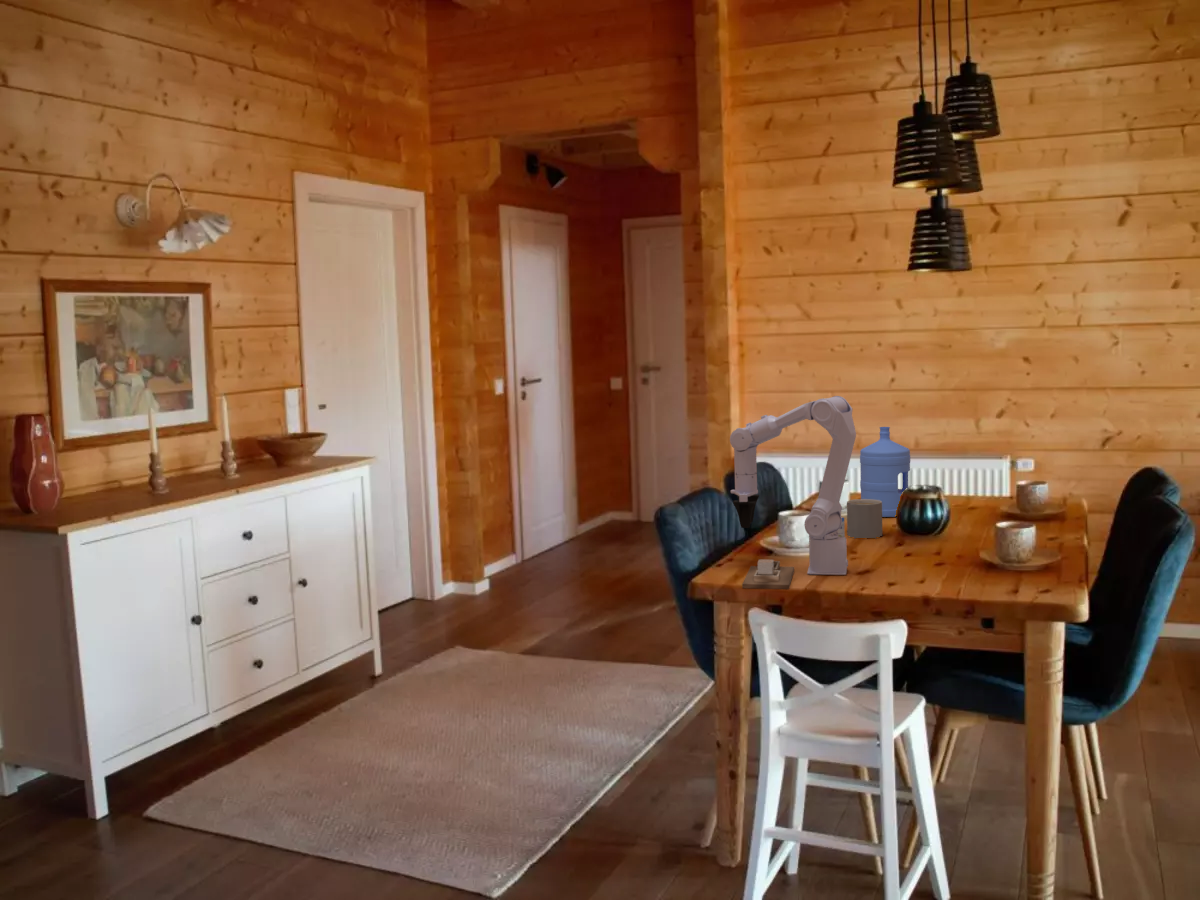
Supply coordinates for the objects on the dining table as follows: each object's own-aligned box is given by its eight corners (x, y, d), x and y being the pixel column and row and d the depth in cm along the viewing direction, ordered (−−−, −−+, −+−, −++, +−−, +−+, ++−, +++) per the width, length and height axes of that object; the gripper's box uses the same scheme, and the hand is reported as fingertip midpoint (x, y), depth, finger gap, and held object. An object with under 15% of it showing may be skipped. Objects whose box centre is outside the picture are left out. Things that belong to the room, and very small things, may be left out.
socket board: (794, 570, 290) (794, 560, 289) (788, 589, 270) (788, 578, 270) (750, 569, 292) (750, 560, 292) (742, 588, 273) (742, 577, 273)
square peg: (773, 577, 278) (773, 559, 278) (772, 580, 275) (772, 562, 274) (759, 577, 279) (758, 559, 278) (758, 580, 276) (757, 562, 275)
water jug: (865, 519, 358) (864, 430, 355) (856, 510, 373) (855, 425, 370) (916, 517, 357) (915, 428, 354) (904, 509, 373) (903, 424, 370)
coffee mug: (879, 539, 325) (878, 505, 324) (844, 538, 329) (843, 504, 328) (887, 531, 337) (886, 497, 336) (853, 529, 341) (852, 496, 340)
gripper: (733, 469, 305) (734, 520, 306) (726, 477, 291) (728, 529, 292) (760, 469, 303) (761, 520, 304) (754, 477, 289) (755, 530, 290)
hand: (746, 525), depth 298 cm, fingers open, 7 cm apart
